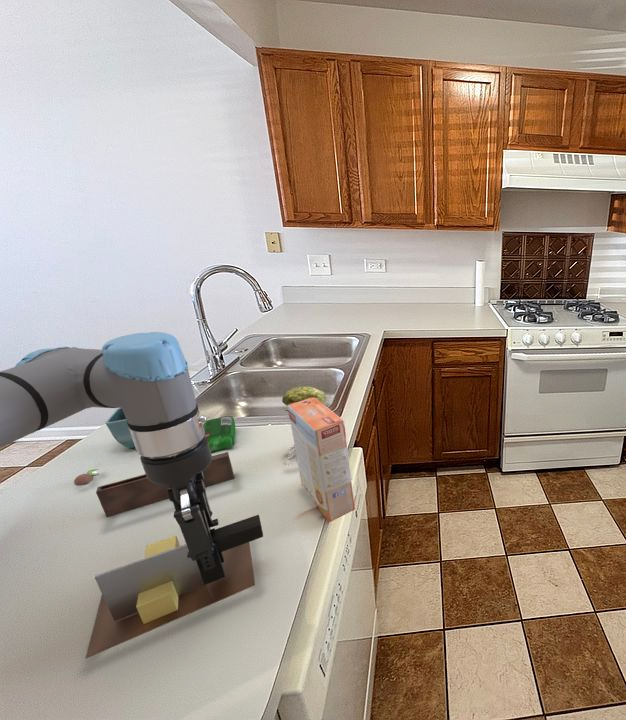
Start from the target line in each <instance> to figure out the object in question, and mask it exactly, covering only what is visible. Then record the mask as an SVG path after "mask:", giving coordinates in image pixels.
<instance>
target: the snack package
mask: <svg viewBox="0 0 626 720" xmlns="http://www.w3.org/2000/svg"><path fill="white" fill-rule="evenodd" d="M203 427H204V431H205V435H204V436H205V437H206V438H207V440H208V443H209V447H210V450H211V453H212V452H217V451H221V450H228V449H231V448H232V447H234V446H235V444H236V421H235V418H234V416H231V415H226V416H221V417H217V418H212V419H207V420H206V421H205V422H203Z"/></svg>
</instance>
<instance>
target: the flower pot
mask: <svg viewBox="0 0 626 720" xmlns="http://www.w3.org/2000/svg"><path fill="white" fill-rule="evenodd" d="M105 425H106V427H107V429H108V430H109V432H110V434H111V435H112V437H113V438H114V440H115V441H116V442H117V443H118V444H120V445H121V446H123V447H125V448H127V449H134V448H136V447H135V445H134V442H133V439H132V436H131V433H130V430H129V427H128V424H127V419H126V417H125V415H124V412H123V410H122V408H116V409H115V410H114V412H113V413H112V414H111V415H110V417H108V419H107V420H106V421H105Z"/></svg>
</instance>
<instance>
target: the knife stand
mask: <svg viewBox="0 0 626 720" xmlns="http://www.w3.org/2000/svg"><path fill="white" fill-rule="evenodd" d="M202 472H203V475H204V485H205V488H206V489H207V488H209V487H213V486H216V485H219V484H222V483H225V482H229V481H232V480H235V473H234V469H233V465H232V461H231V458H230V454H229V451H226V452H221V453H217V454H215V455H212V461H211V463H210V464H209V466H208V467H207V468H206V469H204V470H203V471H202ZM168 489H170V485H168V484H156V483H153V482H151V481H149V480H148V478H147V476H146V474H145V473H144V474H141V475H137V476H133V477H129V478H126V479H122V480H119V481H118V480H117V481H114V482H111V483H107V484H103V485H100V486H97V488H96V491H95V493H96V496H97V498H98V500H99V503H100V505H101V508H102V510H103V512H104V515H105V517H106V518H110V517H114V516H117V515H119V514H123V513H126V512H129V511H133V510H136V509H140V508H143V507H146V506H150V505H153V504H156V503H159V502H163V501H166V500H170V499H169V495H168Z"/></svg>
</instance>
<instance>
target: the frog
mask: <svg viewBox="0 0 626 720" xmlns="http://www.w3.org/2000/svg"><path fill="white" fill-rule="evenodd" d="M313 397H315V398H316V399H318V400H319V401H320V402H321V403H322V404H324V405H325V404H326V402H327V396H326V392H324V391H322V390H320V389H317V388H316V387H313V386H298V387H297V386H296V387H293V388H291V389H290V390H286V392H285V394H284V395H283V396H282V400H281V401H282V404H284V405H285V406H286V407H282V409H283V411H284V412H288V406H287V405H289V404H292V403H296V402H299V401H302V400H305V399H308V398H313ZM288 450H290V451H288V452H287V453H288V455H287V456H288V457H287V458H286V460H284V461H283V462H282V463H283V464H284V465H287V466H288V467H289V466H290V465H293V464H296V463H298V461H297V456H296V450H295V445H294V444H292V445H291V446H289V448H288ZM292 454H293V455H292Z"/></svg>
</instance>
